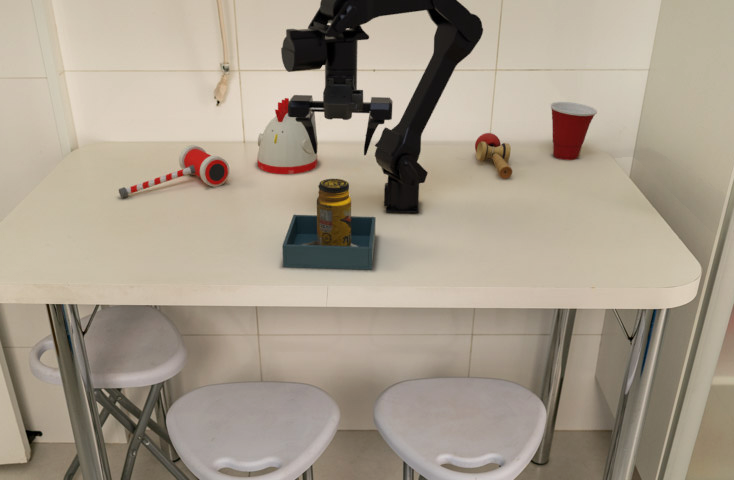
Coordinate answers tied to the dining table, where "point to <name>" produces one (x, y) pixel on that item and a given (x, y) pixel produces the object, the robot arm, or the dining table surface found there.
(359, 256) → the tote
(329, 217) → the condiment
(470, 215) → the dining table surface
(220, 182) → the toy hammer
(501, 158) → the kendama
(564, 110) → the plastic cup
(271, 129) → the kitchen timer
